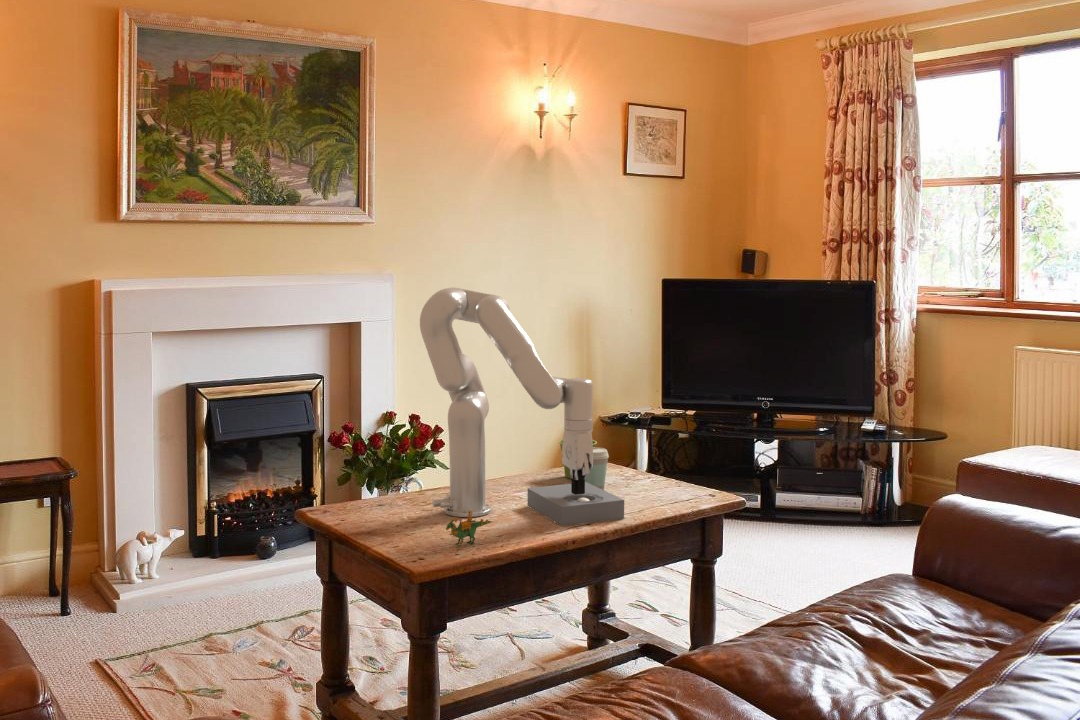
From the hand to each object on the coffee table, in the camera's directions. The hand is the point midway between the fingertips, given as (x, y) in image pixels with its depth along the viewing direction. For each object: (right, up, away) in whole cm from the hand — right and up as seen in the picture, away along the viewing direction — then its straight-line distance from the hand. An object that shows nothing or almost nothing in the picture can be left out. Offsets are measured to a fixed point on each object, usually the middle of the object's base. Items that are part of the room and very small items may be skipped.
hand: (578, 493), depth 268 cm
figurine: (-27, -9, -27) cm, 39 cm away
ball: (+1, -3, -2) cm, 4 cm away
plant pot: (+2, -1, +44) cm, 44 cm away
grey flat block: (-1, -5, +2) cm, 6 cm away
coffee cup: (+6, -3, +27) cm, 28 cm away
